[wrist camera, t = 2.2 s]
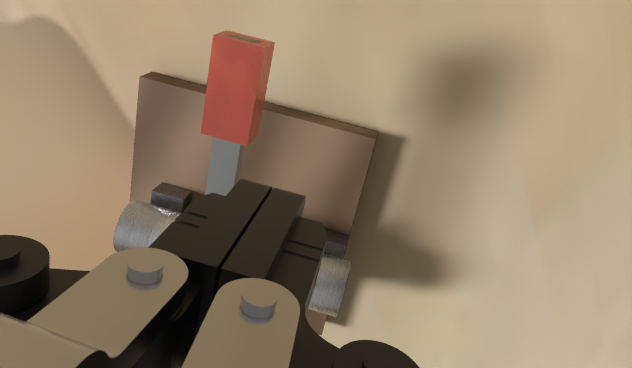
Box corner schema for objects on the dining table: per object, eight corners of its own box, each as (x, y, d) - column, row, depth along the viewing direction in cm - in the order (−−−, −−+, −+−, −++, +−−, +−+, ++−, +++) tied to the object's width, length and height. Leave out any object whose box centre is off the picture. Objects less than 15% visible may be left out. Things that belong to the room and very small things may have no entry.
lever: (231, 325, 27) (221, 345, 25) (180, 309, 27) (166, 329, 26) (284, 44, 21) (274, 50, 20) (218, 28, 21) (203, 32, 20)
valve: (358, 232, 31) (344, 297, 25) (342, 289, 33) (324, 363, 27) (155, 175, 32) (92, 224, 26) (149, 233, 34) (89, 292, 28)
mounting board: (378, 131, 30) (376, 139, 29) (325, 321, 36) (321, 335, 35) (151, 72, 31) (139, 76, 30) (135, 265, 37) (124, 276, 36)
